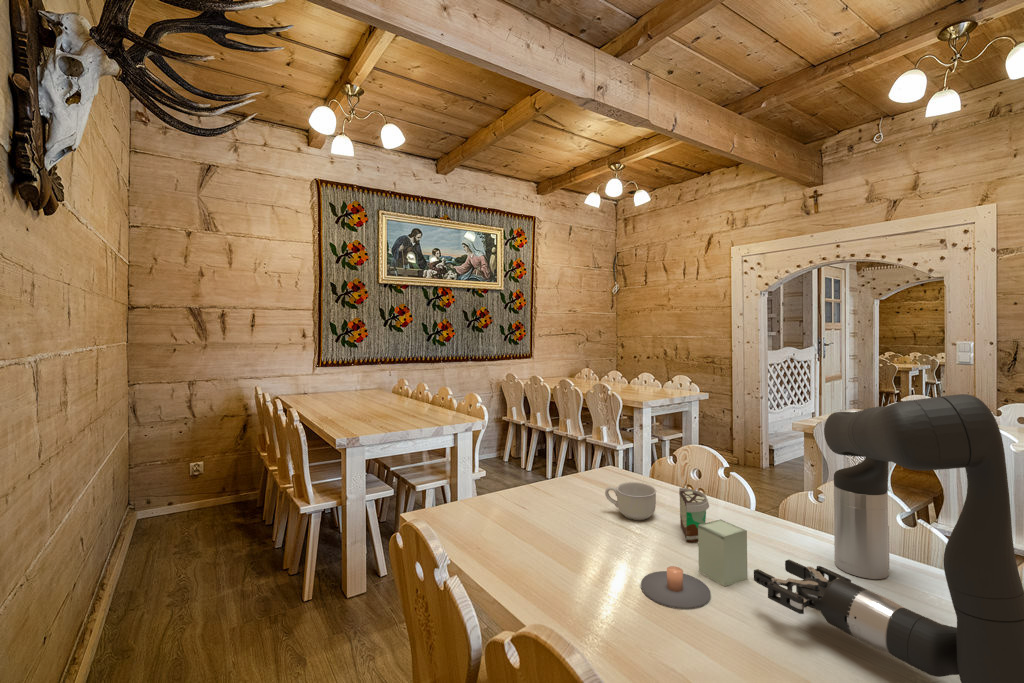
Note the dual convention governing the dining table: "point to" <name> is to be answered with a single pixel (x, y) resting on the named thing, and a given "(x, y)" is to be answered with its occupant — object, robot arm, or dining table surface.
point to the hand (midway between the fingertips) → (770, 569)
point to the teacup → (634, 499)
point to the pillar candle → (674, 578)
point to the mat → (688, 598)
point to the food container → (692, 512)
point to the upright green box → (722, 552)
